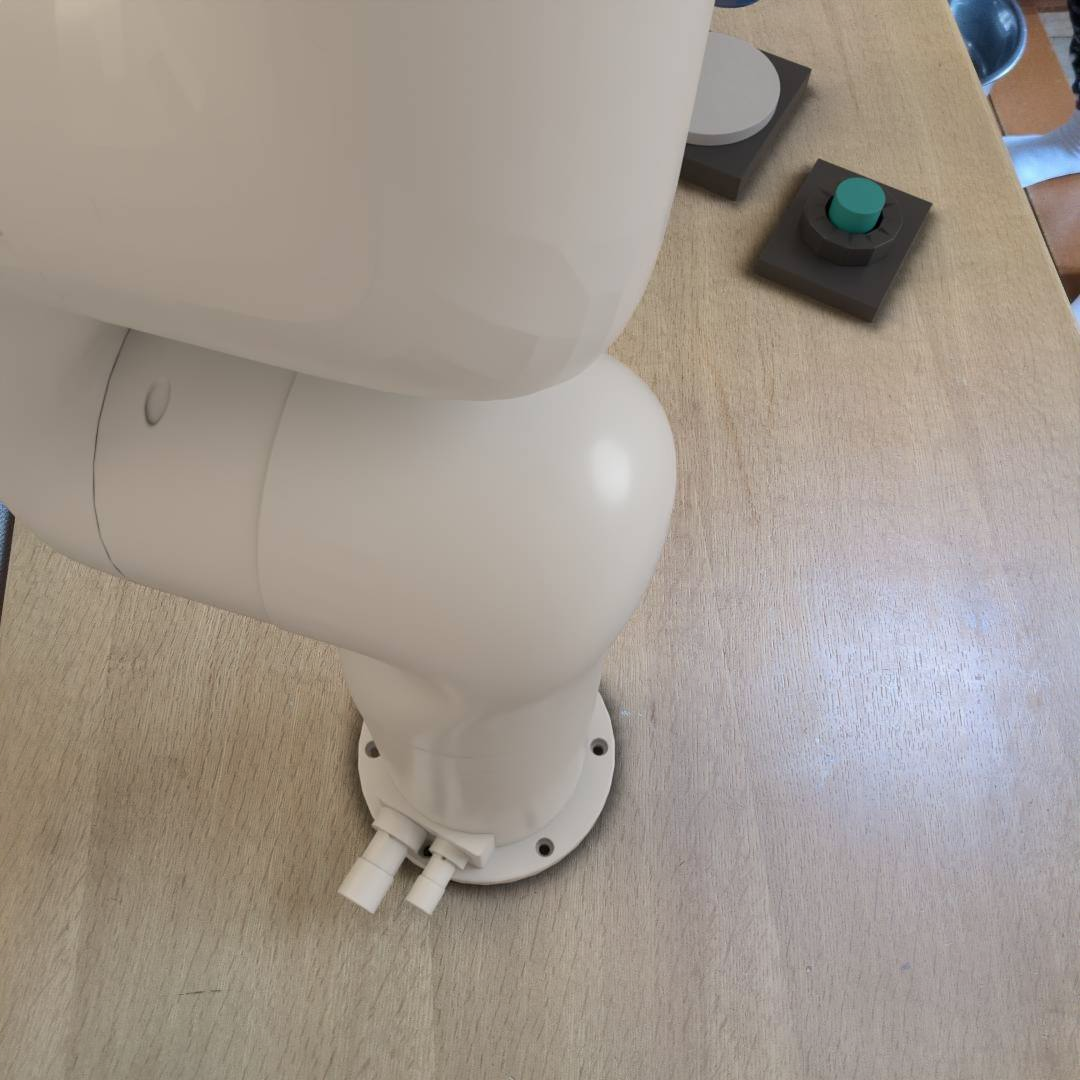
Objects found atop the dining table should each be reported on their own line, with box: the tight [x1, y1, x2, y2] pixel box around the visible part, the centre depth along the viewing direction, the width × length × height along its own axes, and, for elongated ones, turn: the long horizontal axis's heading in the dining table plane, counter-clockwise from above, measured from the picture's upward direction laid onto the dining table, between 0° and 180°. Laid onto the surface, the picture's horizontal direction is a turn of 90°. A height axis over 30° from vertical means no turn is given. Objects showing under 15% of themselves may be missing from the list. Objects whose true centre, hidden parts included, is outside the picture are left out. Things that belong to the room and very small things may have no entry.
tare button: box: [829, 178, 885, 234], centre depth 64 cm, size 3×3×2 cm
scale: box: [679, 29, 813, 202], centre depth 70 cm, size 12×11×3 cm
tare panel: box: [753, 157, 933, 324], centre depth 65 cm, size 10×8×3 cm
